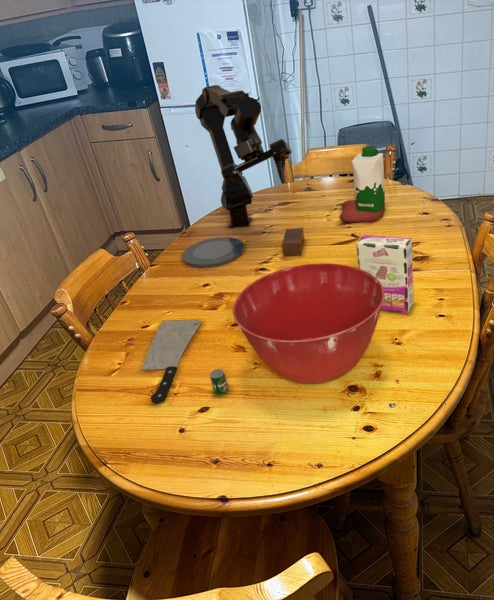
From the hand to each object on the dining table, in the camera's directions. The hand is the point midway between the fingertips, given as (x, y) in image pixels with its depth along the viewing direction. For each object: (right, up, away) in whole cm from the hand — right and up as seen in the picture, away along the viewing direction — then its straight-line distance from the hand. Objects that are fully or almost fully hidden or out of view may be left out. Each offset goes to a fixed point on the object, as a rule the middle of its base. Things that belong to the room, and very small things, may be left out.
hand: (267, 190), depth 145 cm
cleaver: (-20, -41, -26) cm, 53 cm away
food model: (+28, 0, +29) cm, 40 cm away
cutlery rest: (+7, -14, +13) cm, 20 cm away
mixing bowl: (+12, -41, -33) cm, 55 cm away
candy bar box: (+29, -30, -18) cm, 45 cm away
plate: (-17, -15, +17) cm, 28 cm away
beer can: (-6, -47, -38) cm, 60 cm away
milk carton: (+31, -2, +29) cm, 42 cm away
